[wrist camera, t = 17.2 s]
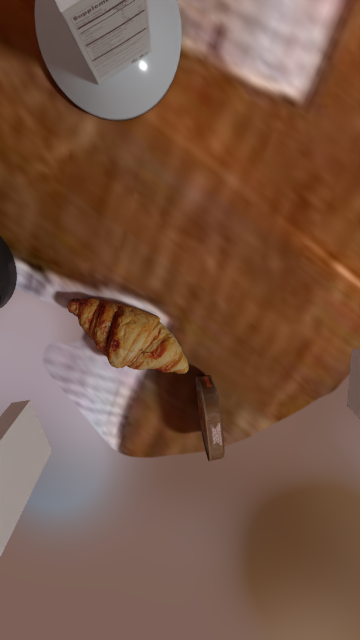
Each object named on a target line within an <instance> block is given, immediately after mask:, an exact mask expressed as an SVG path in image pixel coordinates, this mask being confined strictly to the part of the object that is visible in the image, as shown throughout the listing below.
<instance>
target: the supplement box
mask: <svg viewBox="0 0 360 640" xmlns="http://www.w3.org/2000/svg"><path fill="white" fill-rule="evenodd" d="M53 1H54V3H55V5H56V6H57V8H58V10H59V12H60V14H61V16H62V18H63V20H64V22H65V23H66V25H67V27H68V29H69V31H70V33H71V35H72V37H73V39H74V40H75V42H76V44H77V46H78V48H79V50H80V52H81V54H82V55H83V57H84V59H85V61H86V63H87V65H88V67H89V68H90V70H91V72H92V74H93V76H94V78H95V80H96V81H97V83H98V84H101V83H102V82H104V81H106V80H108V79H109V78H111V77H112V76H114V75H116V74H117V73H119V72H120V71H122V70H124V69H125V68H127V67H129V66H130V65H132V64H134V63H135V62H137V61H138V60H140V59H142V58H143V57H145V56H147V55H148V54H150V53H151V52H152V46H151V36H150V24H149V12H148V0H53Z"/></svg>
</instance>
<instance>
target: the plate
mask: <svg viewBox="0 0 360 640" xmlns="http://www.w3.org/2000/svg"><path fill="white" fill-rule="evenodd" d="M148 12H149V24H150V36H151V46H152V52H151V53H150V54H148V55H147V56H145V57H143V58H142V59H140V60H138V61H137V62H135V63H134V64H132V65H130V66H129V67H127V68H125V69H124V70H122V71H120V72H119V73H117V74H116V75H114V76H112V77H111V78H109V79H108V80H106V81H104V82H102V83H101V84H98V83H97V81H96V80H95V78H94V76H93V74H92V72H91V70H90V68H89V67H88V65H87V63H86V61H85V59H84V57H83V55H82V54H81V52H80V50H79V48H78V46H77V44H76V42H75V40H74V39H73V37H72V35H71V33H70V31H69V29H68V27H67V25H66V23H65V22H64V20H63V18H62V16H61V14H60V12H59V10H58V8H57V6H56V5H55V3H54V1H53V0H35V27H36V34H37V39H38V44H39V47H40V50H41V53H42V56H43V59H44V61H45V64H46V66H47V68H48V70H49V72H50V73H51V75H52V77H53V79H54V80H55V81H56V83H57V84H58V86H59V87H60V88H61V90H62V91H63V92H64V93H65V94H66V95H67V97H68V98H69V99H70V100H71V101H72V102H74V103H75V104H76V105H77V106H78V107H80V108H81V109H82V110H84V111H85V112H87V113H89V114H91V115H93V116H95V117H98V118H101V119H105V120H109V121H126V120H130V119H134V118H137V117H139V116H142V115H144V114H145V113H147V112H148V111H150V110H151V109H152V108H154V107H155V106H156V105H157V104H158V103H159V102H160V101H161V99H162V98H163V97H164V96H165V94H166V93H167V91H168V90H169V88H170V86H171V84H172V82H173V79H174V77H175V74H176V71H177V67H178V63H179V58H180V51H181V36H182V30H181V18H180V12H179V7H178V3H177V0H148Z"/></svg>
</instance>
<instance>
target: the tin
mask: <svg viewBox="0 0 360 640" xmlns="http://www.w3.org/2000/svg"><path fill="white" fill-rule="evenodd" d="M195 383H196V393H197V401H198V410H199V418H200V425H201V431H202V436H203V441H204V446H205V450H206V454H207V457H208V460H209V461H211V460H216V459H221V458H223V457H224V438H223V426H222V416H221V408H220V402H219V397H218V393H217V390H216V387H215V385H214V383H213V381H212V378H211V376H210V375H207V376H200V377H197V376H196V378H195Z"/></svg>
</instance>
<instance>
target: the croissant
mask: <svg viewBox="0 0 360 640" xmlns="http://www.w3.org/2000/svg"><path fill="white" fill-rule="evenodd" d="M68 310H69V312H71V313H73V314H74V315H76V316H77V317H78V319H79V324H80V326H82V328H83V330H84V331H85V332H86V333H87V334H89V337H91V338H92V339H93V340H94V342H95V344H96V348H97V349H98V350H100V351H101V352H102V353H103V354H104V355H106V356H107V358H108V361H109V363H110V364H111V366H112V367H115V368H119V367H120V368H123V367H125V366H128V367H129V368H132V369H137V370H144V369H149V368H150V369H155V370H158V371H160V372H173V371H174V372H175V373H178V374H183V373H186V372H187V371H188V368H189V365H188V362H187V359H186V357H185V355H184V354H183V352H182V349H181V347H180V345H179V344H178V343H177V340H176V338H175V337H174V336H173V334H172V333H171V332H170V331H169V330H168V329H167V328H166V327H165V326H164V325H163V324H162V323H161V322H160V318H159V317H158V316H155V315H152V314H150V313H147V312H144V311H141V310H140V309H138V308H135V307H131V306H127V305H120V304H117V303H112V302H107V301H99V300H98V299H94V298H88V299H72V300H71V301H70V302H69V304H68Z"/></svg>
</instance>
